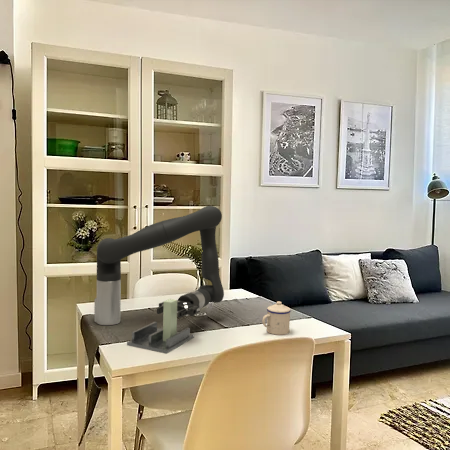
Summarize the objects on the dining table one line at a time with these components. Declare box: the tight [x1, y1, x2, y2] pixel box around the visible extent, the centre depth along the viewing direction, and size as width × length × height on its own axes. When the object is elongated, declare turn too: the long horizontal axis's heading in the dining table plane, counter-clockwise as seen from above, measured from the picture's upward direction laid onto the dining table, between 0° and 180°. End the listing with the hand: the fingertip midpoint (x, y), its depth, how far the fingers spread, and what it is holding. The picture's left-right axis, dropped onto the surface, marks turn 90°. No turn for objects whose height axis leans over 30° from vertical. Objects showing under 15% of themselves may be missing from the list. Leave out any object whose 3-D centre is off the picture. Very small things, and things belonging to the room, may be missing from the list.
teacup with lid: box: [261, 300, 291, 336], centre depth 171 cm, size 12×9×12 cm
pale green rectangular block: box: [162, 298, 178, 341], centre depth 156 cm, size 3×4×14 cm
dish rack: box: [126, 321, 195, 354], centre depth 158 cm, size 16×18×4 cm
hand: (168, 313), depth 154 cm, fingers open, 8 cm apart
